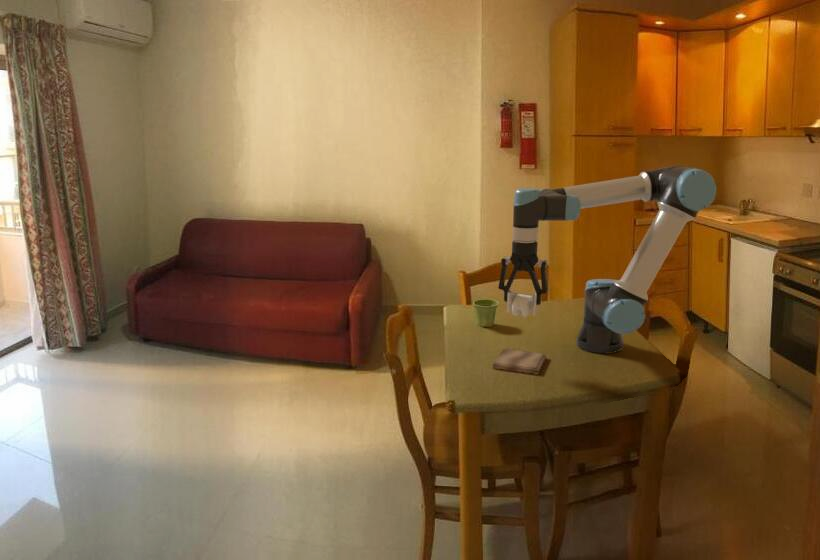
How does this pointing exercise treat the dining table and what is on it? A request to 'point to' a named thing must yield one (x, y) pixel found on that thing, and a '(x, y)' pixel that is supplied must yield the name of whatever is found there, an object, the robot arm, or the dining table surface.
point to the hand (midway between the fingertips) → (521, 312)
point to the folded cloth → (519, 361)
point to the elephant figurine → (521, 304)
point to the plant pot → (485, 311)
